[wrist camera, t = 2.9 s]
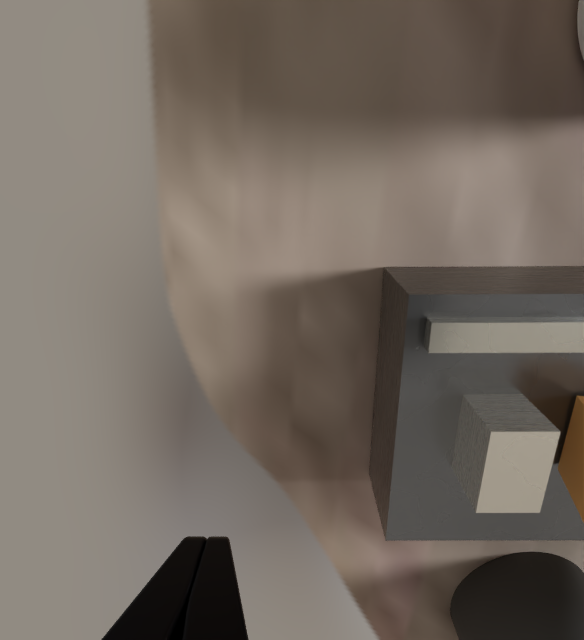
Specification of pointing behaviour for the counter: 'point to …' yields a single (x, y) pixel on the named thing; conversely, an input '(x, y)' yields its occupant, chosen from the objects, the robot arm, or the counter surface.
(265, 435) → the counter surface
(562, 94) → the counter surface
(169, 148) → the counter surface
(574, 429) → the breaker paddle
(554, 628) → the dark grey cylinder
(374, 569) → the counter surface
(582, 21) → the pill bottle
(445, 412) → the breaker panel
